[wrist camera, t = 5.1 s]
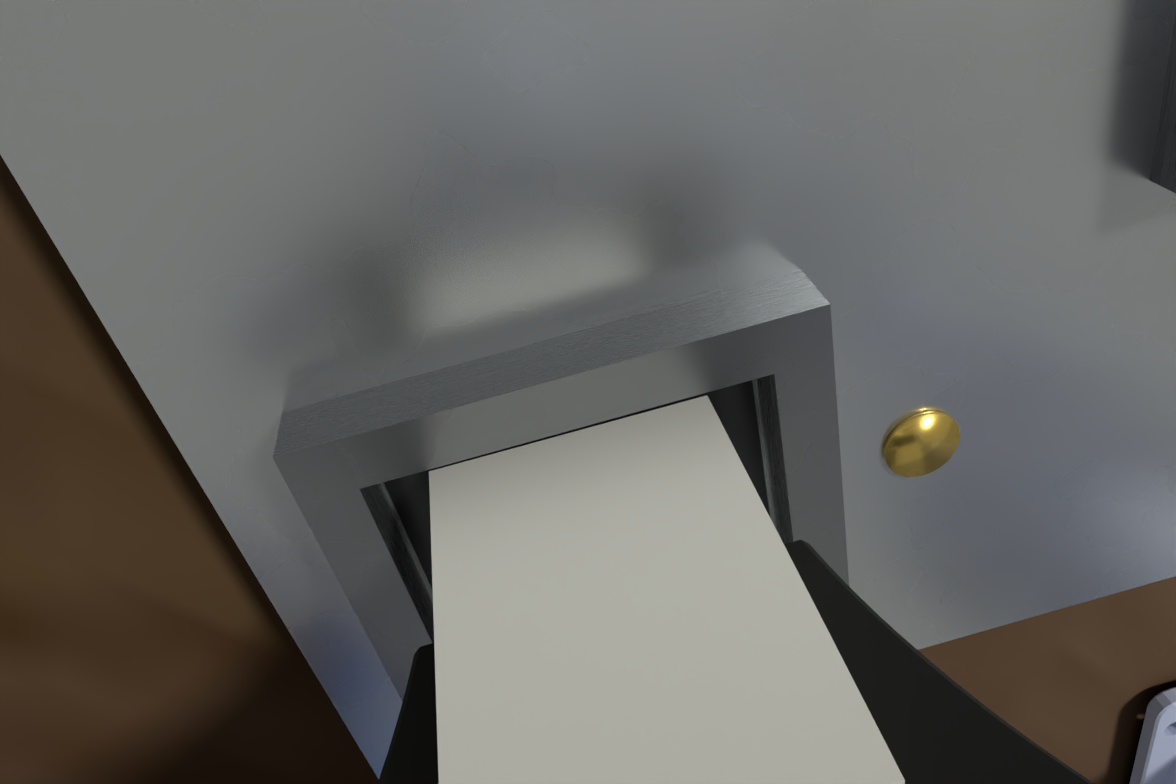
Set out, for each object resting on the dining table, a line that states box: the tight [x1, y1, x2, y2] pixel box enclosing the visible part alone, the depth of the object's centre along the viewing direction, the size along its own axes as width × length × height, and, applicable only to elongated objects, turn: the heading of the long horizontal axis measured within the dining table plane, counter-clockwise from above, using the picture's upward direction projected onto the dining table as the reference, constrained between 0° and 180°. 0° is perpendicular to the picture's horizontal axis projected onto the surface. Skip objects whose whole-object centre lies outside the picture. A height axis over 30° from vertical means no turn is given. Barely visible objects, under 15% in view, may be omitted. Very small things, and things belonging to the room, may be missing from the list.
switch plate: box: [0, 0, 1176, 779], centre depth 12 cm, size 16×22×2 cm
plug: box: [429, 395, 905, 784], centre depth 11 cm, size 4×4×7 cm
